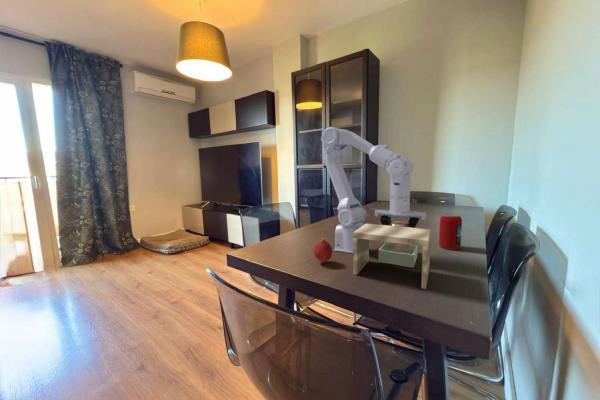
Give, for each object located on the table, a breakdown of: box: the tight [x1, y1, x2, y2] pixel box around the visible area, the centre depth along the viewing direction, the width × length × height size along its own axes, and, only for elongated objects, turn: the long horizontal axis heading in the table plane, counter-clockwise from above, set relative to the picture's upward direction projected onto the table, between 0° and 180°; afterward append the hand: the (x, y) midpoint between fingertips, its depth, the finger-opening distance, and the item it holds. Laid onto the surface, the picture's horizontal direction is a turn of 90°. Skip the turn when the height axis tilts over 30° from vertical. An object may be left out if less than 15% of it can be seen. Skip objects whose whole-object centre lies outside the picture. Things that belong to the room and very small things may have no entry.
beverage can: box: [438, 212, 463, 250], centre depth 88 cm, size 7×7×12 cm
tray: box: [377, 242, 419, 268], centre depth 80 cm, size 10×15×4 cm, turn 149°
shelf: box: [352, 223, 432, 290], centre depth 68 cm, size 18×12×12 cm, turn 59°
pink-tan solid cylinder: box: [389, 220, 409, 251], centre depth 77 cm, size 6×6×8 cm
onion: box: [313, 237, 333, 264], centre depth 77 cm, size 6×6×8 cm
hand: (398, 240), depth 78 cm, fingers closed on pink-tan solid cylinder, 6 cm apart
